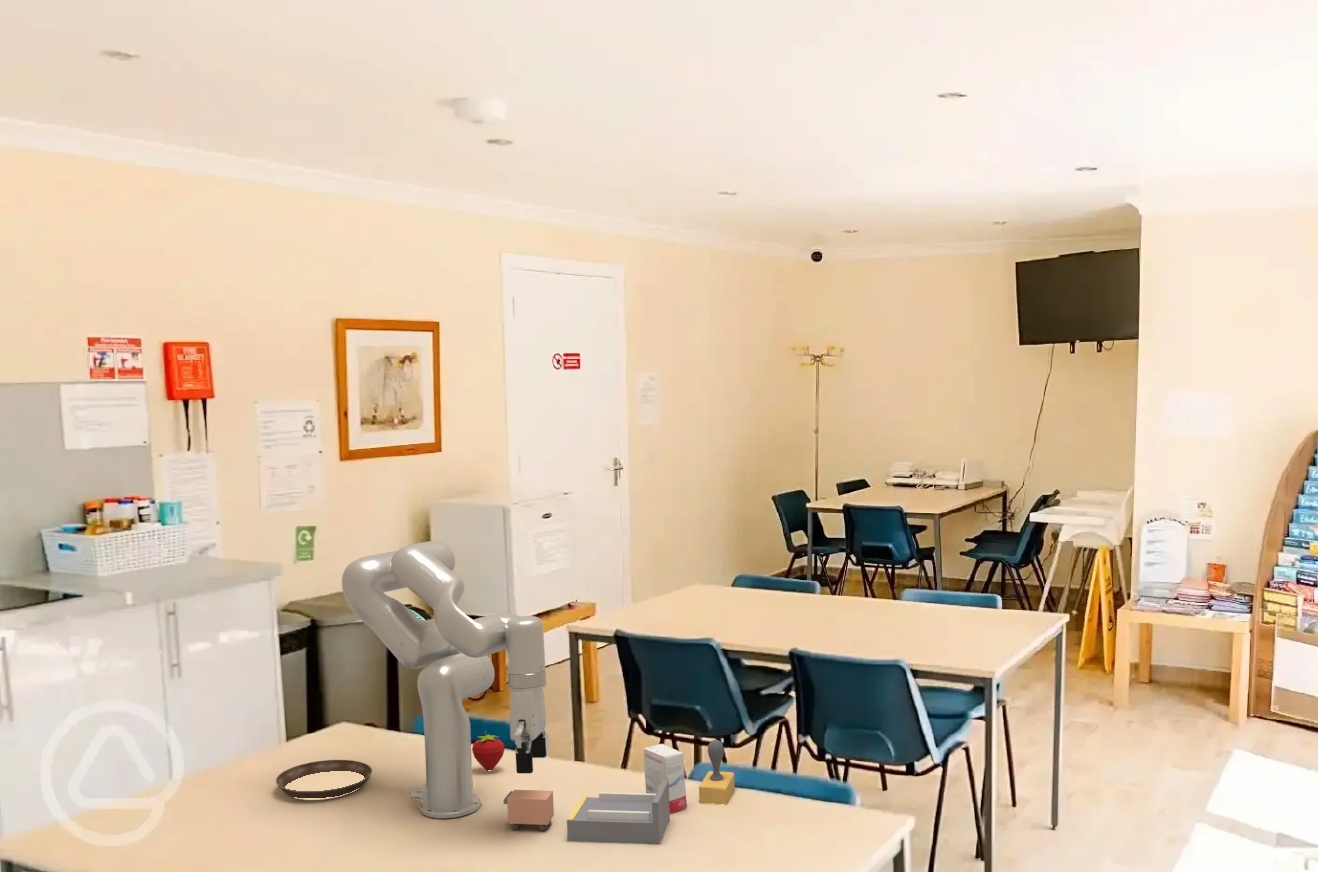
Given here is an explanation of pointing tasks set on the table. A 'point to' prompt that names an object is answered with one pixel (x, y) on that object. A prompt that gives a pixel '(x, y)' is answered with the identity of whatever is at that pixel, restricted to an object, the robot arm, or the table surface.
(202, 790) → the table surface
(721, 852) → the table surface
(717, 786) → the rubber stamp
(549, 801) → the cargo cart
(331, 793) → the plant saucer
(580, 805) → the loading dock
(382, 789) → the table surface
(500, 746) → the strawberry
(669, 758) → the ink box
